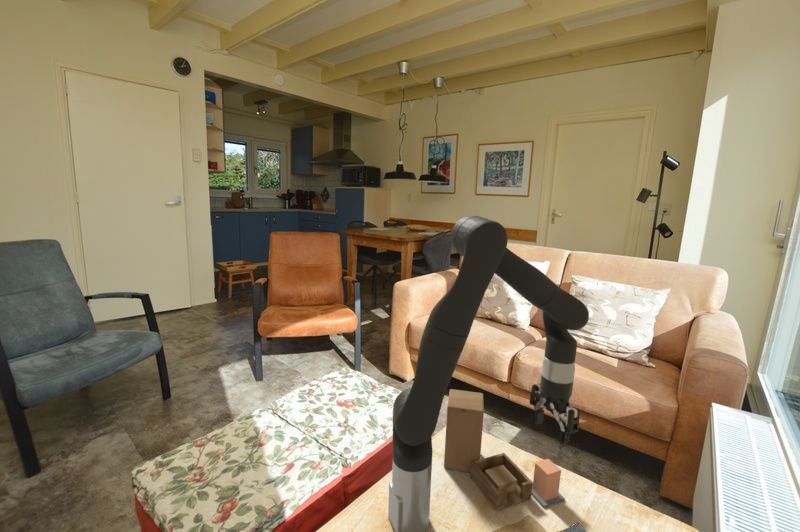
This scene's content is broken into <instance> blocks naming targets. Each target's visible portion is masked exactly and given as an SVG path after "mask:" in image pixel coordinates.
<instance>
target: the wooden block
mask: <svg viewBox="0 0 800 532" xmlns="http://www.w3.org/2000/svg"><path fill="white" fill-rule="evenodd" d="M448 393H449V394H448V399H447V406H446V407H447V409H446V422H445V424H446V425H445V441H444V442H445V443H444V455H443V456H444V458H443V467H444V469H447V470H452V471H453V470H454V471H458V472H465V473H469V474H471V462H473V461H477V460H480V459H481V453H482V450H481V449H482V439H483V438H482V437H483V425H484V416H485V415H484V414H485V413H484V412H485V411H484V407H485V405H484V404H485V403H484V401H485V400H484V393H482V392H475V391H468V390H461V389H453V388H450V389H449V392H448Z"/></svg>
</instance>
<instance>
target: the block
mask: <svg viewBox="0 0 800 532" xmlns="http://www.w3.org/2000/svg"><path fill="white" fill-rule="evenodd" d="M561 475H562V469H561V468H560V467H558V466H557V465H556V464H555V463H554V462H553V460H551V459H549V458H546V459H543V460H540V461H536V462H535V463H534V472H533V479H532V480H533V481H532V482H533V488H532V489H533V490H534V491H535V492H536V493H537V494H538V495H539V496H540V497H541V498H542V499H543V500H544V501H547V500H550V499H553V498H555V497H558V492H559V493H560V491H559V490H560V482H561Z"/></svg>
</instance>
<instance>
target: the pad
mask: <svg viewBox="0 0 800 532" xmlns="http://www.w3.org/2000/svg"><path fill="white" fill-rule="evenodd" d="M532 488H533V485H532ZM531 497H532V498H534V500H535V501H536V502H537V503H538V504H539V505H540V506H541V507H542V508H543V509H545V508H547V507H550V506H553V505H555V504H558V503H561V502H563V501H565V499H566V498H565V497H564V495H562V494H561V493H560V491H559V492H558V497H555V498H553V499H550V500H547V501H544V500H543V499H542V498H541V497H540V496H539V495H538V494H537V493H536V492H535V491H534V490H533V489H532V494H531Z"/></svg>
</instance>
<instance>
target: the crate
mask: <svg viewBox="0 0 800 532" xmlns="http://www.w3.org/2000/svg"><path fill="white" fill-rule="evenodd" d="M470 479H471V481H472V482H473V483H474V485H475V486H476V487H477V488H478V490H479V491H480V492H481V493H482V494H483V496H484V497H485V498H486V500H487V501H488V503H490V505H491V506H492V507H493V509H494V510H495V511H496V512H497V511H500V510H503V509H506V508H509V507H511V506H514V505H517V504H520V503H523V502H526V501H529V500H531V499H532V495H531V494H532V485H533V481H532V480H531V479H530V478H529V477H528V476H527V475H526V474H525V472H523V470H521V468H519V467H518V466H517V464H515V462H514V461H513V460H512V459H511V458H510V456H508V455H507V454H506V453H505V452H502V453H501V452H500V453H499V454H495V455H492V456H488V457H484V458H480V460H477V461H473V462H471V473H470Z"/></svg>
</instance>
